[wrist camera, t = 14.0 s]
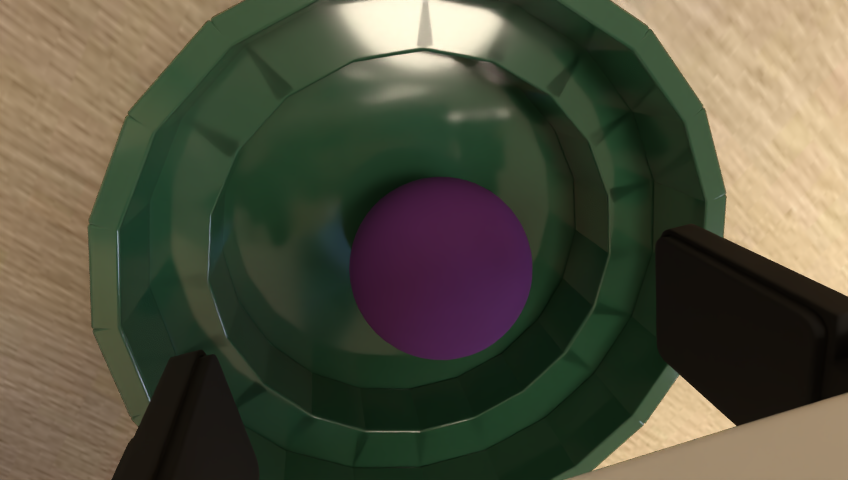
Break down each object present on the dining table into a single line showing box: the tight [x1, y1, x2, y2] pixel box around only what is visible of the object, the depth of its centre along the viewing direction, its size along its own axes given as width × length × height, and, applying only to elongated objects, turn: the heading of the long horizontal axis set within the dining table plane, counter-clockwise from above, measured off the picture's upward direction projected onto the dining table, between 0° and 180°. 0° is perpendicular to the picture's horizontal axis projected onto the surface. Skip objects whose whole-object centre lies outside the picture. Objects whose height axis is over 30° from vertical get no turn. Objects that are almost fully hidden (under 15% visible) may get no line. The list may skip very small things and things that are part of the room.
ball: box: [349, 177, 532, 360], centre depth 15 cm, size 5×5×5 cm
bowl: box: [88, 0, 727, 480], centre depth 15 cm, size 15×15×5 cm
